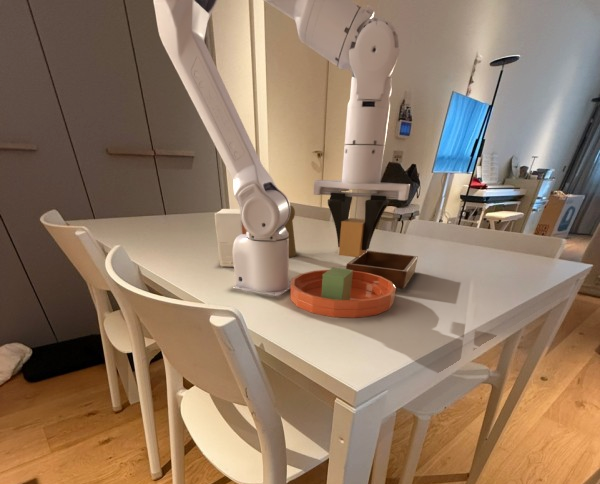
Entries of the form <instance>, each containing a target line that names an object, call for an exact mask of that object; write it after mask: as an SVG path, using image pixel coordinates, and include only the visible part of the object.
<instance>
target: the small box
mask: <svg viewBox="0 0 600 484" xmlns="http://www.w3.org/2000/svg"><path fill="white" fill-rule="evenodd" d="M214 222H215V223H214V224H215V232H216V240H217V248H218V249H217V250H218V256H219V264H220V267H230V268H231V267H232V268H234V263H233V245H234V242H235V239H236V238H237V237H238V236H239V235H242V234H246V232H248V231H247V230H246V229H245V228H244V226H243V223H242V221H241V214H240V208H221V210H219V211H217V212H214Z"/></svg>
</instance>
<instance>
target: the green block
mask: <svg viewBox="0 0 600 484" xmlns="http://www.w3.org/2000/svg"><path fill="white" fill-rule="evenodd" d="M329 269H330V270H329ZM329 269H327V270H328V271H327V272H325V273H324V274H323V279H322V297H323V298H329V299H335V300H350V294H351V285H352V276H353V270H348V269H346V268H340V267H331V268H329Z"/></svg>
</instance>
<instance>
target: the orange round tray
mask: <svg viewBox="0 0 600 484" xmlns="http://www.w3.org/2000/svg"><path fill="white" fill-rule="evenodd" d="M330 269H331V268H329V269H319V270H312V271H306V272H304V273H303V272H302V273H300V274H298V275H296V276H294V277H293V278H291V281H290V282H291V289H290V301H291V302H292V303H293V304H294V305H295V306H296V307H297V308H299V309H301V310H304V311H307V312H309V313H312V314H316V315H320V316H321V315H322V316H327V317H332V318H355V319H357V318H365V317H371V316H377V315H379V314H382V313H384V312H386V311H389V310H390V309H391V307H392V305H393V304H394V301H395V295H396V291H397V288H395V286H394V284H393V283H392V282H391V281H389V280H387V279H385V278H383V277H381V276H378V275H374V274H370V273H367V272H360V271H353V276H352V285H351V294H350V300H335V299H329V298H323V297H322V279H323V274H324V273H325V272H327V271H328V270H330Z"/></svg>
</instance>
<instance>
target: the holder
mask: <svg viewBox="0 0 600 484" xmlns="http://www.w3.org/2000/svg"><path fill="white" fill-rule="evenodd" d="M418 258H419V256H418V255H409V254H402V253H392V252H386V251H385V252H384V251H375V250H367V251H366V253H364V254H363V255H362V256H360V257H359V258H358V257H353V259H351V260H350V261H349V262H347V263H346V268H345V269H348V270H353V271H360V272H367V273H370V274H374V275H378V276H381V277H383V278H385V279H387V280H389V281H391V282H392V283H393V284H394V286H395V288H396V289H398V290H399V289H400V290H404V289H405V287H406V286H407V285H408V283H409V281H410V280H411V278H412V277H413V275H414V274H415V272H416V267H417V263H418Z"/></svg>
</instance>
